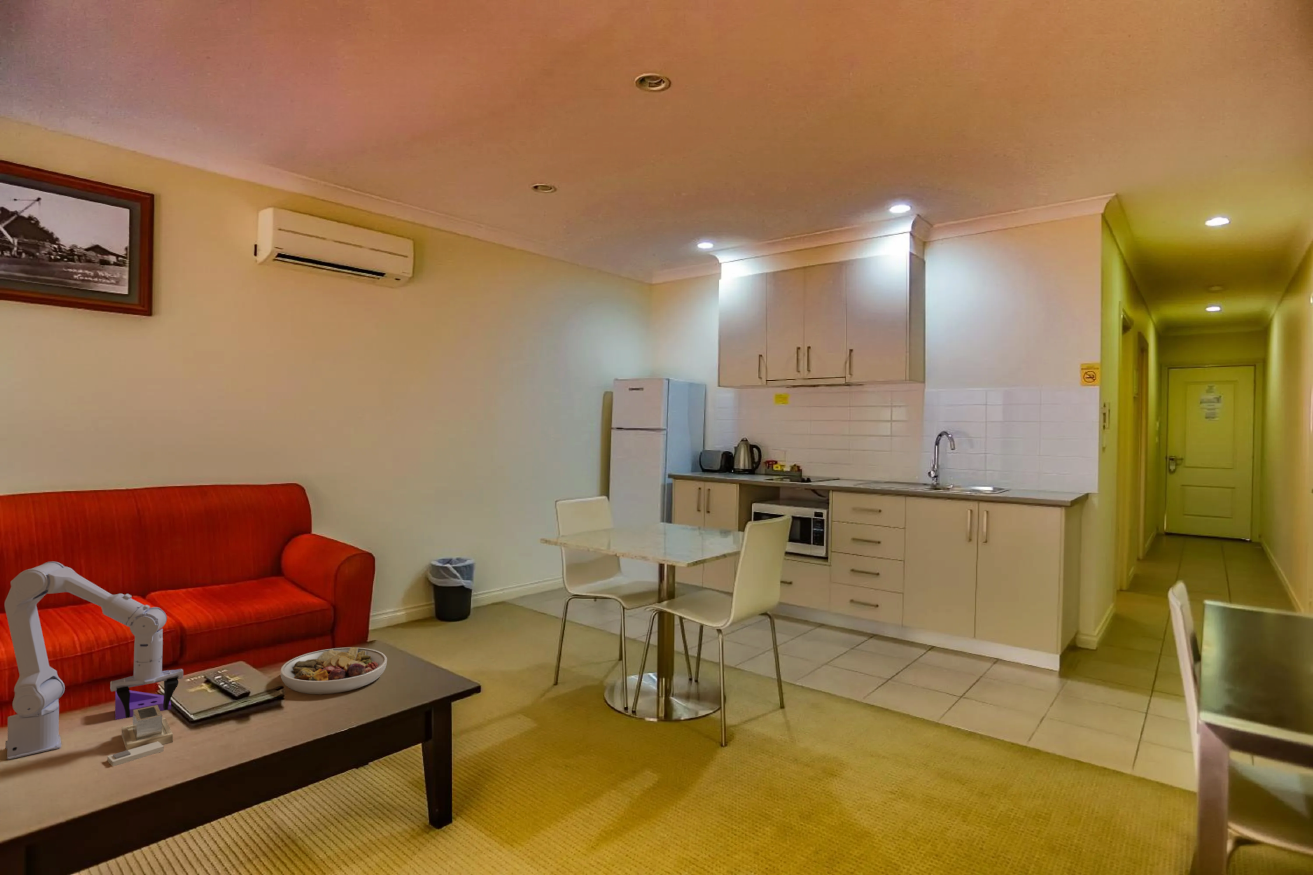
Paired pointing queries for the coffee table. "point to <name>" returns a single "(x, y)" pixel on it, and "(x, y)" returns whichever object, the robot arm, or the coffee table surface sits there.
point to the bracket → (138, 703)
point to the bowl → (333, 670)
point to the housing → (147, 722)
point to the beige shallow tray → (133, 743)
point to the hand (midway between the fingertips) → (146, 712)
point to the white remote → (135, 753)
